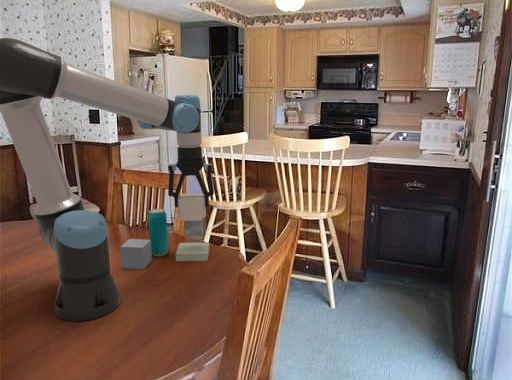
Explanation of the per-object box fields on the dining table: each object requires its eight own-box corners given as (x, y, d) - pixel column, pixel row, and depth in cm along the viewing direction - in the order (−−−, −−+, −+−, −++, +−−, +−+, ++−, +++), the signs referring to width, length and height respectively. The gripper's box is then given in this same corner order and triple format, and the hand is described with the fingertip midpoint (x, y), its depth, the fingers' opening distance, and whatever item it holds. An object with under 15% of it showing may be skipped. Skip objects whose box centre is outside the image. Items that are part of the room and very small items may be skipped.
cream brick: (202, 220, 133) (201, 199, 131) (180, 220, 132) (178, 199, 131) (204, 214, 139) (203, 193, 138) (182, 214, 139) (181, 194, 137)
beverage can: (169, 250, 143) (167, 208, 139) (167, 256, 137) (164, 212, 134) (152, 251, 142) (149, 208, 139) (149, 257, 137) (146, 213, 133)
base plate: (207, 260, 134) (207, 253, 134) (175, 261, 134) (175, 253, 133) (209, 249, 144) (209, 242, 143) (179, 249, 144) (179, 242, 143)
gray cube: (144, 269, 128) (142, 247, 126) (121, 268, 129) (120, 246, 127) (151, 260, 135) (150, 239, 133) (130, 259, 135) (129, 238, 134)
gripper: (222, 144, 135) (223, 212, 140) (159, 144, 134) (163, 213, 139) (221, 147, 127) (222, 219, 133) (154, 147, 126) (159, 220, 132)
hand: (192, 216), depth 136 cm, fingers closed on cream brick, 7 cm apart
